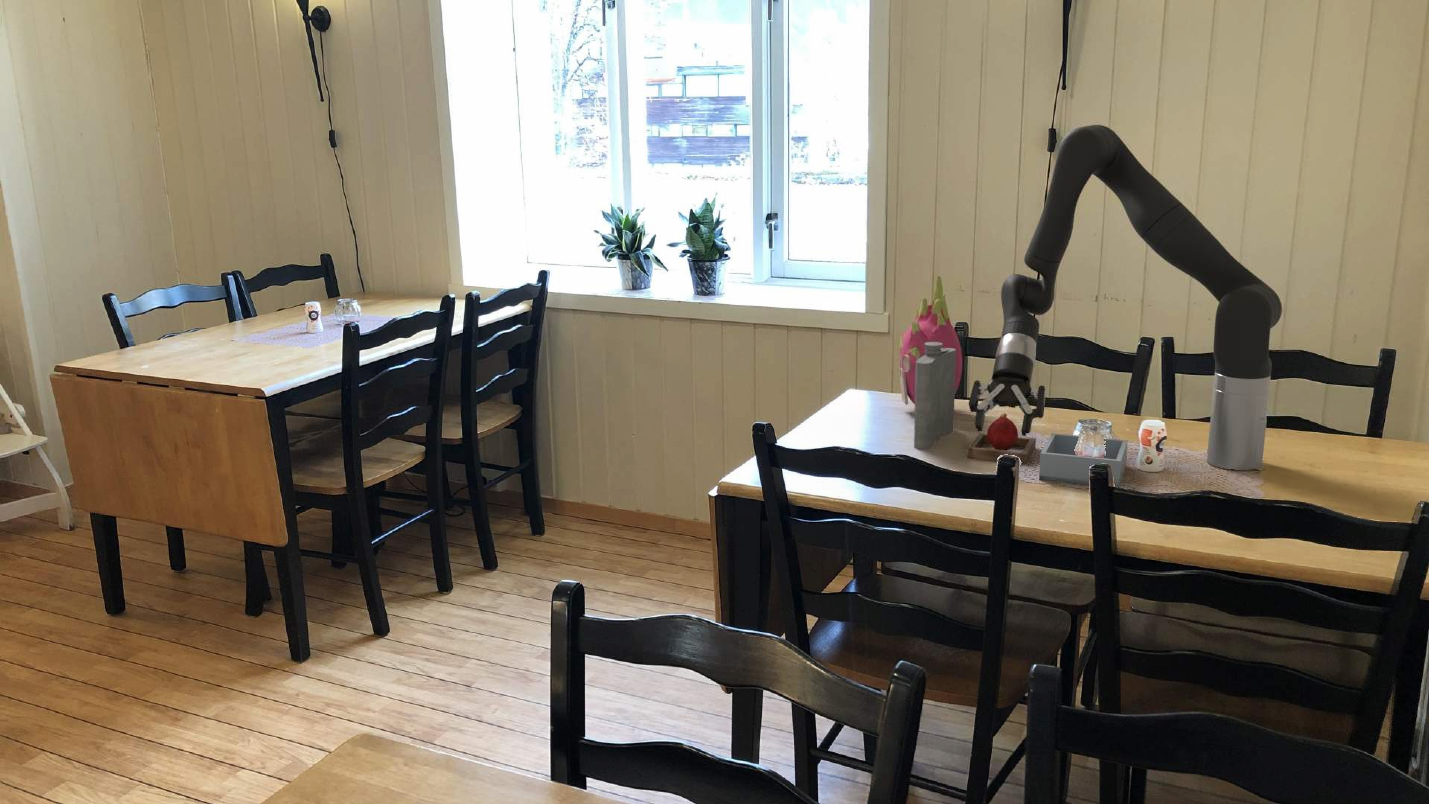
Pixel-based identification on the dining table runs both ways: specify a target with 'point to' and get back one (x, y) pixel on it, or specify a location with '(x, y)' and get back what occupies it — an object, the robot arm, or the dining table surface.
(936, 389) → the hip flask
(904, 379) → the pink dragon fruit
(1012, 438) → the onion
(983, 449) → the tray
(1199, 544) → the dining table surface
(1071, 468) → the bin
